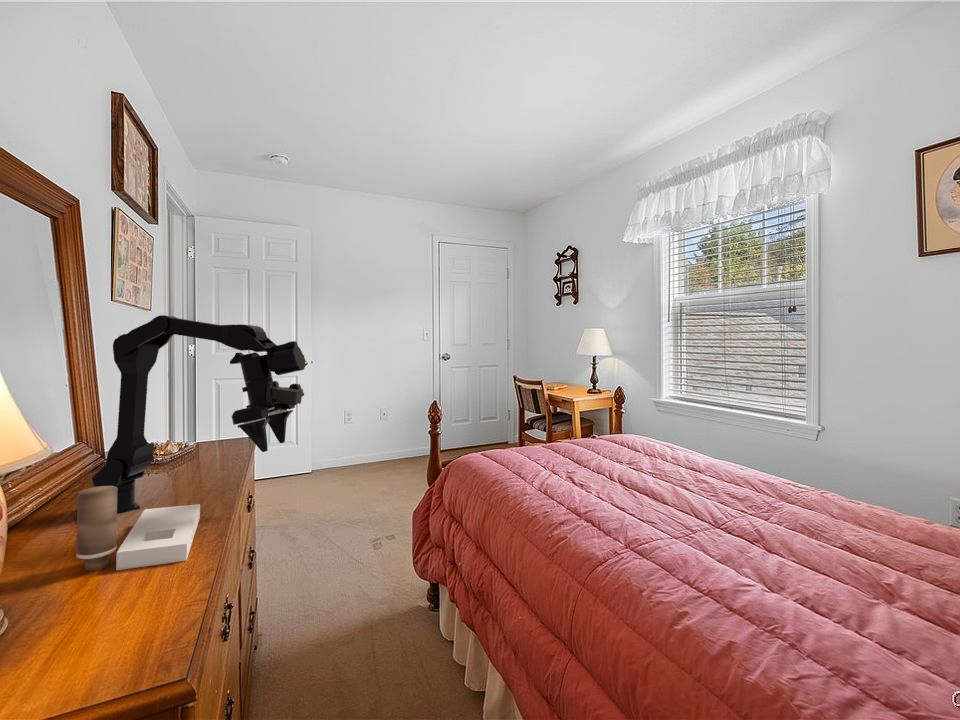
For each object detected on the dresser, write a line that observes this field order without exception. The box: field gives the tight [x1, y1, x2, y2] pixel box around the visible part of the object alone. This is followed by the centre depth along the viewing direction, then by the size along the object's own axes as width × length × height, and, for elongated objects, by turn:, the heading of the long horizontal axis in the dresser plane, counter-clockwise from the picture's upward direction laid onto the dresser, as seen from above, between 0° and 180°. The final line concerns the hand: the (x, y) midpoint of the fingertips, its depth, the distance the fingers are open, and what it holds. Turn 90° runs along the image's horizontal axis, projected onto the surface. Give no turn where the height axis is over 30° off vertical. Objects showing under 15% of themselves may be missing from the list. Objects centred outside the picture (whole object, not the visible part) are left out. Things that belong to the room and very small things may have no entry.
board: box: [115, 503, 201, 571], centre depth 90 cm, size 22×10×3 cm, turn 26°
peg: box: [75, 486, 118, 572], centre depth 79 cm, size 5×5×13 cm
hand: (274, 447), depth 106 cm, fingers open, 9 cm apart
